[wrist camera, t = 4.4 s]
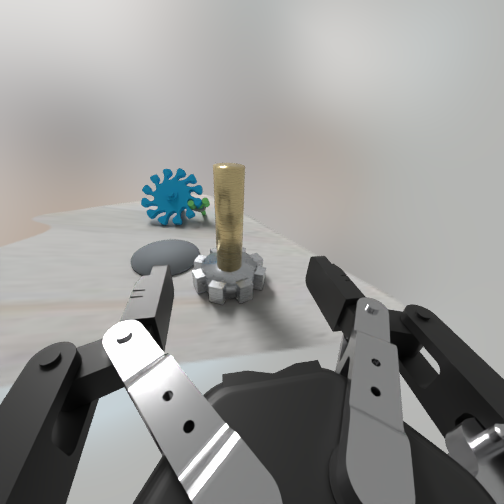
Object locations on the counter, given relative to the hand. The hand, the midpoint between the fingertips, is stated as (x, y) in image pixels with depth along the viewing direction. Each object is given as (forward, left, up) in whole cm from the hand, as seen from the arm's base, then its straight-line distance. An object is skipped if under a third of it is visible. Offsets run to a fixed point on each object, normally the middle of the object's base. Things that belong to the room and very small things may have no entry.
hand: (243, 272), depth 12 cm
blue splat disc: (+21, +18, -8) cm, 29 cm away
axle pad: (+10, +13, -8) cm, 18 cm away
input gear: (+8, +4, -8) cm, 12 cm away
